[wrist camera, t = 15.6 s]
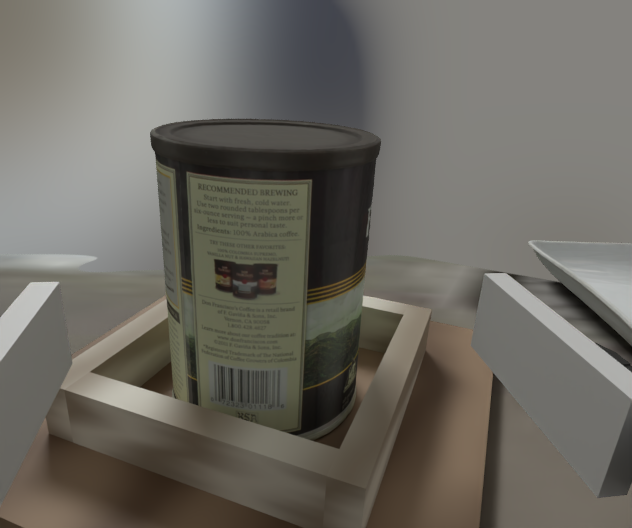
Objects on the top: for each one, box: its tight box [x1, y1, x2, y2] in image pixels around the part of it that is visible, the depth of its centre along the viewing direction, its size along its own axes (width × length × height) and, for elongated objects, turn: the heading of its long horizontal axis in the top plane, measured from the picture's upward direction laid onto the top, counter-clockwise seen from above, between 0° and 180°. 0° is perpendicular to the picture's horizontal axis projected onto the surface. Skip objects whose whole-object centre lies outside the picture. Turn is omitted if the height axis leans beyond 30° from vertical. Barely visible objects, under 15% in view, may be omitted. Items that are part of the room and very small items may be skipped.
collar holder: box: [0, 295, 493, 528], centre depth 28 cm, size 24×24×4 cm
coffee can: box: [150, 119, 381, 441], centre depth 25 cm, size 10×10×14 cm
